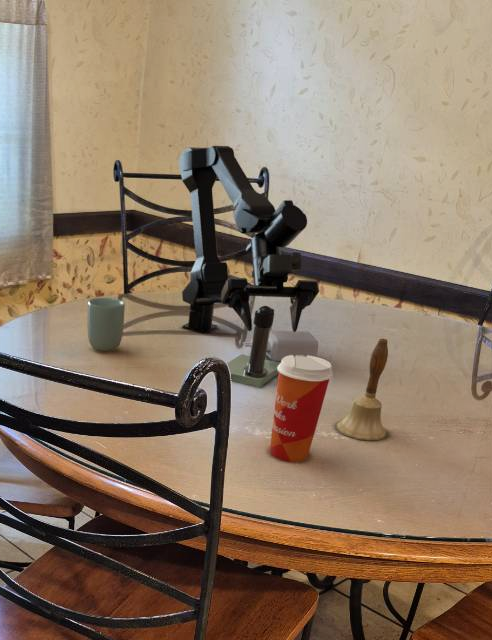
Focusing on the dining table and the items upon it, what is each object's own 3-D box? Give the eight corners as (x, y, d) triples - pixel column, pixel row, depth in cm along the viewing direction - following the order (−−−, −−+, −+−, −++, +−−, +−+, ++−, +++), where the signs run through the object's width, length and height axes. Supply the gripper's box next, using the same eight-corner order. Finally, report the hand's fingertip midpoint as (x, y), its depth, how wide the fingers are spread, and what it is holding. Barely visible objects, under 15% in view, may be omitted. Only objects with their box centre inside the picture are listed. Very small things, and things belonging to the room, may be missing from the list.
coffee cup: (257, 442, 117) (272, 352, 109) (305, 443, 118) (324, 353, 110) (270, 465, 110) (287, 371, 102) (322, 465, 111) (343, 372, 103)
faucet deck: (240, 360, 153) (248, 308, 147) (283, 370, 149) (292, 317, 143) (215, 376, 143) (221, 321, 138) (259, 387, 139) (268, 331, 134)
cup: (118, 356, 152) (120, 308, 146) (83, 352, 153) (84, 304, 147) (125, 345, 158) (127, 299, 153) (91, 341, 159) (92, 295, 154)
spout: (268, 341, 136) (274, 309, 133) (250, 339, 137) (254, 307, 134) (275, 329, 144) (280, 298, 140) (257, 326, 145) (262, 296, 141)
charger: (238, 349, 160) (303, 351, 161) (246, 362, 152) (315, 364, 153) (241, 327, 158) (307, 330, 159) (249, 340, 150) (319, 342, 151)
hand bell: (389, 443, 119) (415, 349, 111) (338, 437, 120) (360, 344, 112) (382, 424, 126) (406, 334, 118) (334, 419, 127) (354, 329, 119)
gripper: (232, 233, 136) (237, 307, 133) (326, 237, 138) (334, 310, 135) (218, 268, 147) (223, 337, 144) (305, 270, 149) (312, 339, 146)
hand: (272, 330), depth 142 cm, fingers open, 9 cm apart
